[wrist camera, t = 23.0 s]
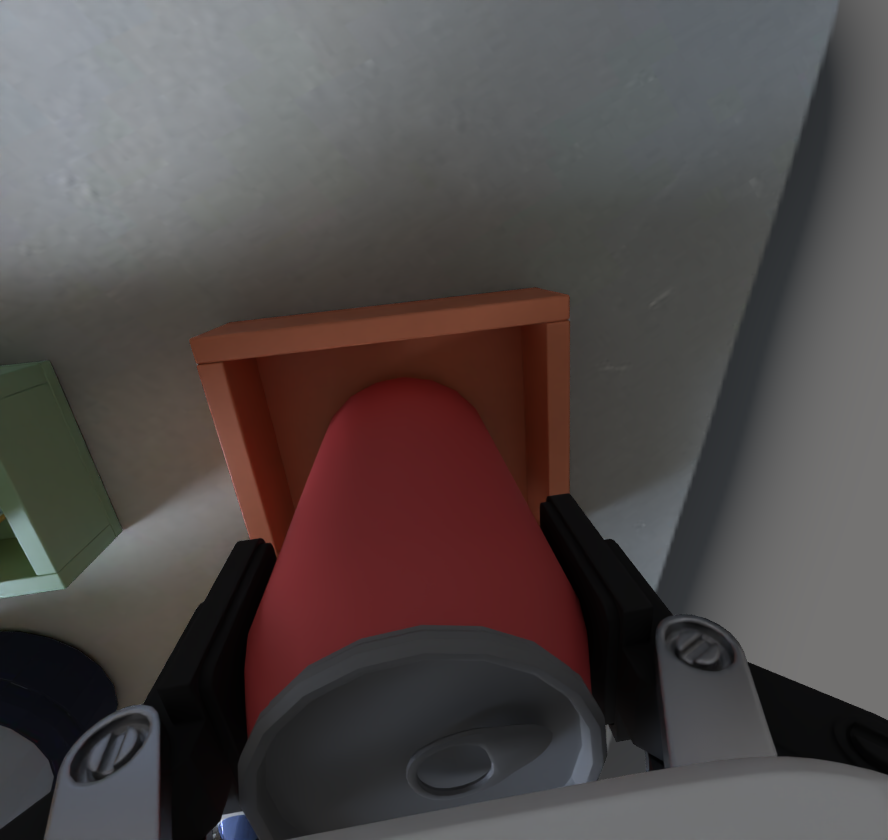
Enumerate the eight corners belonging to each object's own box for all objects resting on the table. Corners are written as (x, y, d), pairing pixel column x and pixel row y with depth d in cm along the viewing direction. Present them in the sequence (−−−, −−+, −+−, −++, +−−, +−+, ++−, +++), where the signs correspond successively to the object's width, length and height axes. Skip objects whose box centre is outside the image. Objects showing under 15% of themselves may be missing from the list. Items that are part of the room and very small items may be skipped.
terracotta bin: (228, 322, 16) (187, 338, 13) (536, 287, 17) (570, 294, 14) (297, 575, 20) (279, 636, 17) (542, 538, 21) (569, 589, 18)
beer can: (506, 490, 19) (672, 833, 8) (363, 542, 19) (320, 954, 8) (458, 347, 16) (595, 541, 5) (294, 408, 17) (88, 723, 5)
